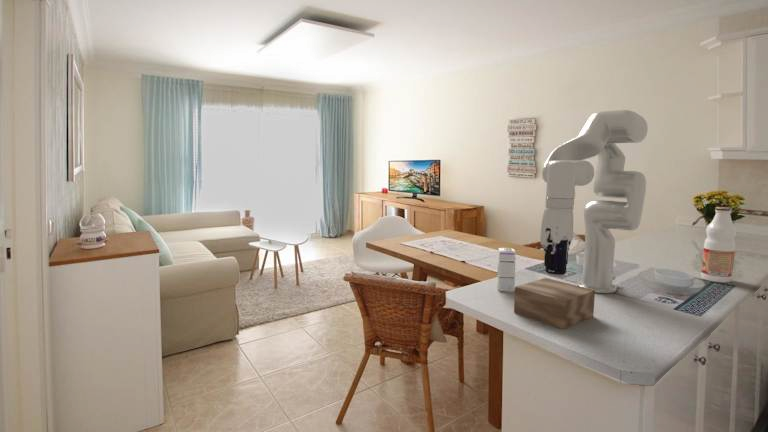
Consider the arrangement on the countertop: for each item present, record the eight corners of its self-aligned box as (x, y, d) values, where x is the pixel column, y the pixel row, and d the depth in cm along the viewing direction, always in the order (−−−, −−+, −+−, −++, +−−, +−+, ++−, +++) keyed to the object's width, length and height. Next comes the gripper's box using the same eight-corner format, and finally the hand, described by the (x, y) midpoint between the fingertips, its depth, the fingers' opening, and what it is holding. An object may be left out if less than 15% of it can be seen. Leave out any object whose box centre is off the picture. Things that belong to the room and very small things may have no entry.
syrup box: (514, 292, 147) (516, 251, 145) (497, 291, 148) (498, 250, 146) (513, 287, 152) (514, 247, 150) (496, 286, 153) (497, 247, 151)
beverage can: (547, 271, 128) (549, 232, 126) (567, 274, 125) (570, 234, 123) (542, 275, 123) (545, 235, 122) (563, 278, 120) (566, 237, 118)
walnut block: (544, 301, 137) (545, 277, 136) (593, 316, 124) (595, 290, 123) (514, 312, 127) (515, 286, 126) (563, 329, 114) (565, 301, 113)
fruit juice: (717, 283, 156) (726, 209, 153) (694, 277, 166) (701, 206, 162) (738, 282, 158) (746, 208, 155) (713, 275, 168) (721, 205, 164)
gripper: (563, 201, 129) (560, 258, 132) (530, 204, 119) (527, 267, 121) (587, 203, 123) (583, 263, 126) (554, 207, 113) (551, 272, 115)
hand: (555, 264), depth 123 cm, fingers closed on beverage can, 5 cm apart
